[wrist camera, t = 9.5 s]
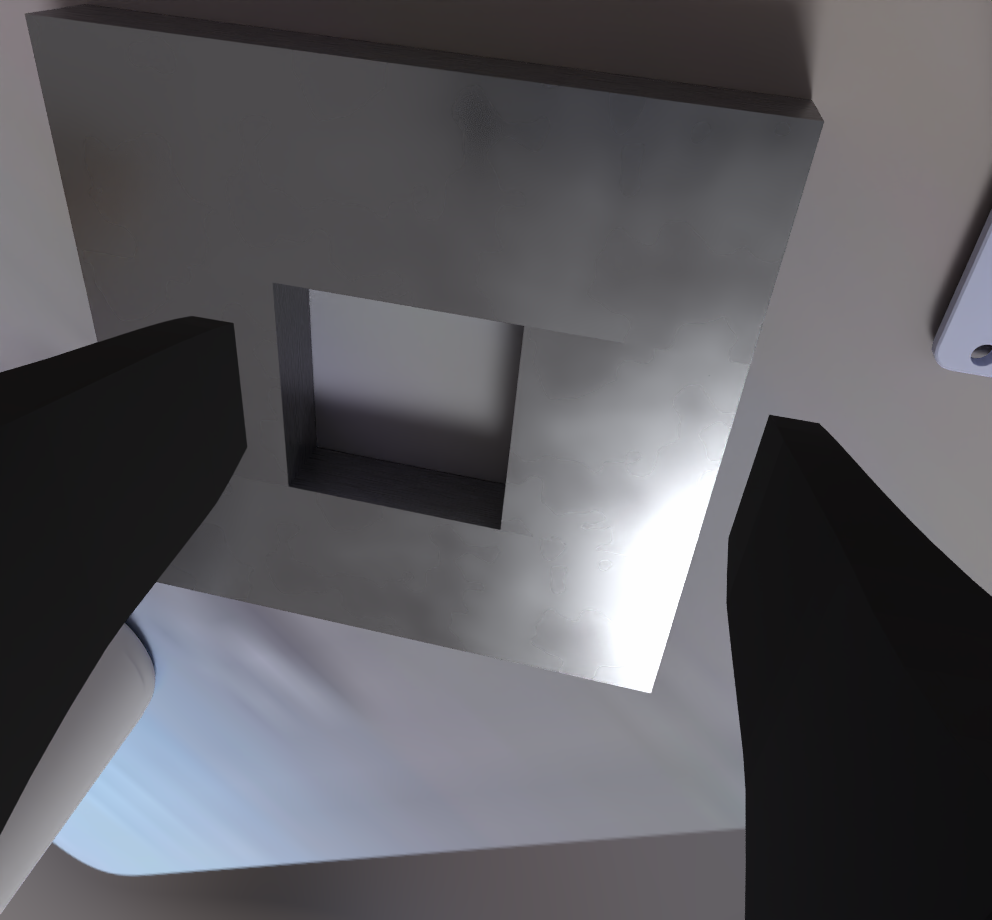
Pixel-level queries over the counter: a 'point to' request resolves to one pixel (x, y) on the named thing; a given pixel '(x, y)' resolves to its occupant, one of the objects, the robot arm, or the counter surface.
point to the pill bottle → (76, 756)
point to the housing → (439, 307)
